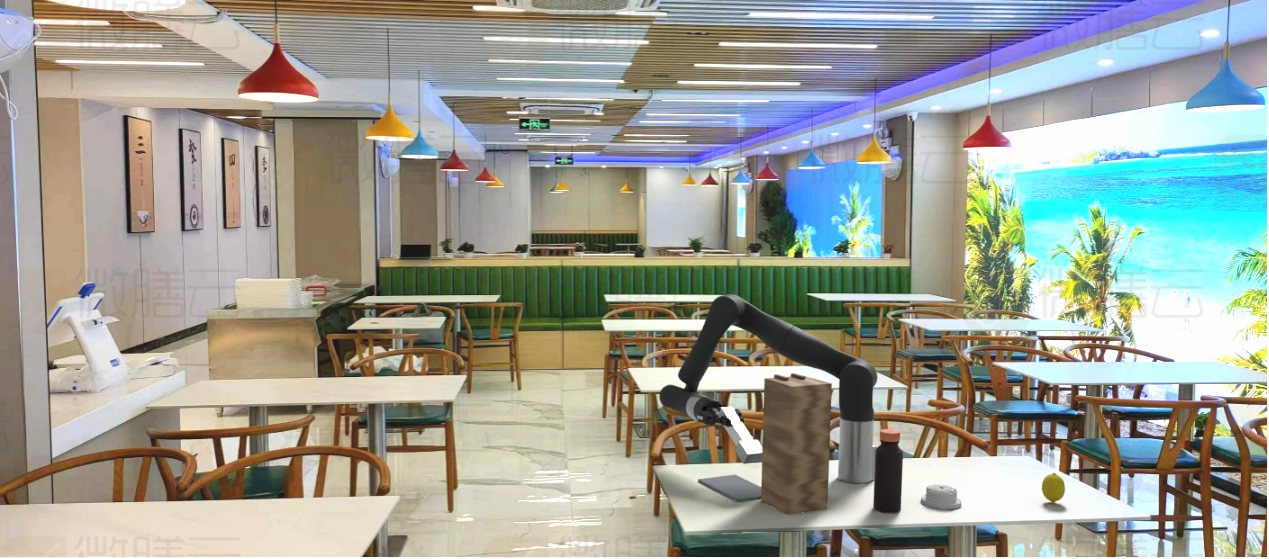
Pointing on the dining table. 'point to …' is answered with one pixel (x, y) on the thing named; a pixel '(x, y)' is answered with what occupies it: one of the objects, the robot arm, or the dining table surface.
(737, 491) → the mat
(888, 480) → the bottle
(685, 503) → the dining table surface
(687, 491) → the dining table surface
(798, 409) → the tall wooden block
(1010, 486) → the dining table surface
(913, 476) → the dining table surface
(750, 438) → the grey block
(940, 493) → the grey cake on plate
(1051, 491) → the lemon
